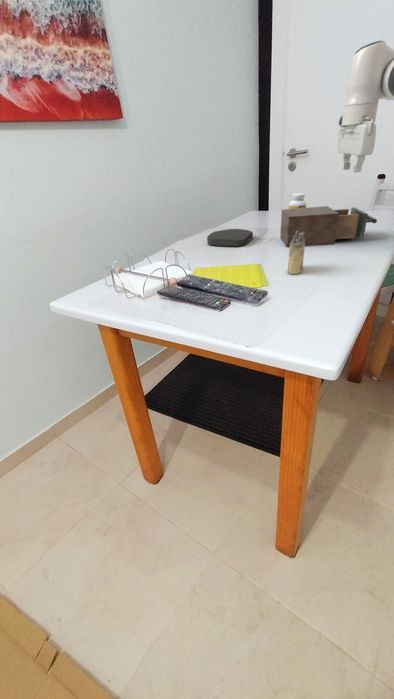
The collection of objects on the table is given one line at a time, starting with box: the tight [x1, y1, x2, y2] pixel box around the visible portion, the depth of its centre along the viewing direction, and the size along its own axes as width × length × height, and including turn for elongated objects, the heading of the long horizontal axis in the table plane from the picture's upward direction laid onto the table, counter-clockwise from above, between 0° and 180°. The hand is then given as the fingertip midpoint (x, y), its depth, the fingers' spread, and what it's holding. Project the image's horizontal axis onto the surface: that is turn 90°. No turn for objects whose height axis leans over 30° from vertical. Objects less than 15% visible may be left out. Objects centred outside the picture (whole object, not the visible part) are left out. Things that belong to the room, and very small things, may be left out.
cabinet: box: [279, 205, 339, 248], centre depth 114 cm, size 16×13×10 cm
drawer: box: [333, 206, 378, 240], centre depth 113 cm, size 19×11×8 cm, turn 88°
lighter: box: [286, 231, 306, 275], centre depth 90 cm, size 7×4×10 cm, turn 157°
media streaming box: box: [206, 228, 254, 247], centre depth 122 cm, size 15×15×3 cm
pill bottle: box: [288, 192, 307, 209], centre depth 133 cm, size 6×6×12 cm
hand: (351, 171), depth 105 cm, fingers open, 8 cm apart
